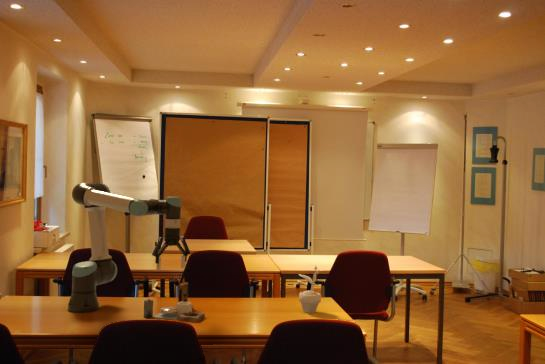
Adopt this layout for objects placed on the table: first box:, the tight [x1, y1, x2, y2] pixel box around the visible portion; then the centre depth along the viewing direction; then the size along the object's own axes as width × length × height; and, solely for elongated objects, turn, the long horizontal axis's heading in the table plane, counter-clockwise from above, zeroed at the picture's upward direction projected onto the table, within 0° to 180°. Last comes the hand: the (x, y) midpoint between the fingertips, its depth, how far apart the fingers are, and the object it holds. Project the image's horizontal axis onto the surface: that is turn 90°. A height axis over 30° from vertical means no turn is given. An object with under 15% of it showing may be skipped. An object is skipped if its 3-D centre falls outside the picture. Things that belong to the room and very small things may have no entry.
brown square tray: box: [177, 311, 205, 323], centre depth 273 cm, size 10×10×2 cm
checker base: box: [152, 312, 179, 321], centre depth 277 cm, size 12×12×1 cm
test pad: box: [159, 306, 179, 314], centre depth 277 cm, size 9×9×2 cm
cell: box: [143, 298, 154, 319], centre depth 274 cm, size 4×4×9 cm
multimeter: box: [177, 269, 196, 311], centre depth 292 cm, size 15×10×20 cm
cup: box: [175, 301, 193, 316], centre depth 279 cm, size 6×6×6 cm
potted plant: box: [298, 266, 322, 314], centre depth 295 cm, size 13×12×25 cm
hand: (170, 269), depth 281 cm, fingers open, 13 cm apart
